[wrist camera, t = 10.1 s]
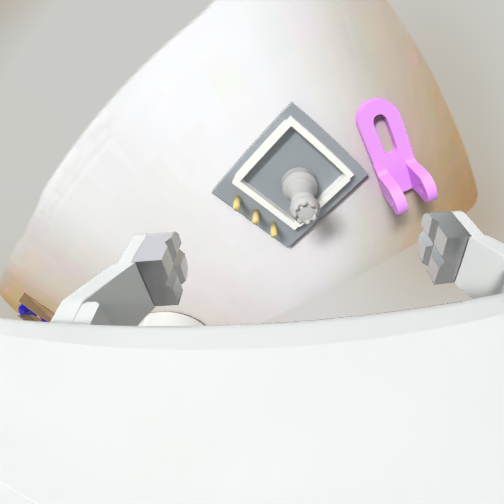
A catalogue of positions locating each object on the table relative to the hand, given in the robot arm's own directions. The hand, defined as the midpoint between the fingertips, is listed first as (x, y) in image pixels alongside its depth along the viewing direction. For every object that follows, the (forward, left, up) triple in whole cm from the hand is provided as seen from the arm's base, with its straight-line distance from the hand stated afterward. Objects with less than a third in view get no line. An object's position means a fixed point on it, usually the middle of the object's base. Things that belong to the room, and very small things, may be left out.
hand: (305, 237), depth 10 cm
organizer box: (-63, +14, -28) cm, 71 cm away
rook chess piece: (-6, -9, -27) cm, 29 cm away
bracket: (+5, -14, -29) cm, 32 cm away
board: (-6, -8, -28) cm, 30 cm away
